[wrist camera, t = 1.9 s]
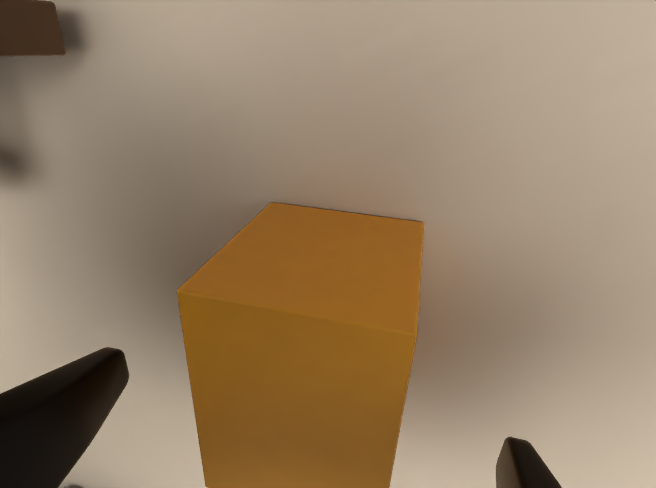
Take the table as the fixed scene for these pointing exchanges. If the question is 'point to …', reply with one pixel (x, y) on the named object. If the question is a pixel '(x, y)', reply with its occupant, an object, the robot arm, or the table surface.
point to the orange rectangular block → (303, 348)
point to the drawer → (30, 28)
